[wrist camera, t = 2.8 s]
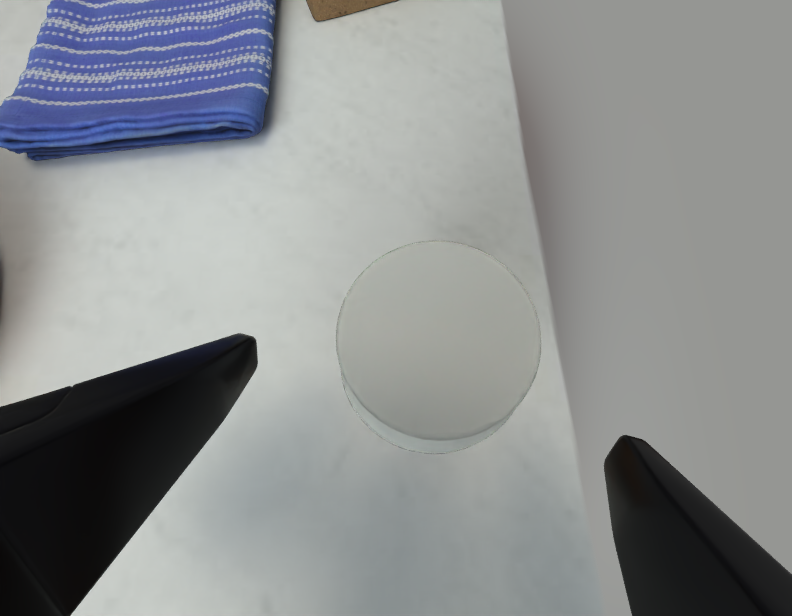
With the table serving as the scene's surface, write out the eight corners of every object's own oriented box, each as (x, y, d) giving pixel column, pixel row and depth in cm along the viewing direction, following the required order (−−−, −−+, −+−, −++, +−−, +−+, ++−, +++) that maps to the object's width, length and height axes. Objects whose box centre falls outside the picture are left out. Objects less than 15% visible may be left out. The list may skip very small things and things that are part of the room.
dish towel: (17, 171, 23) (-36, 139, 20) (93, -54, 30) (62, -100, 27) (272, 148, 22) (252, 111, 19) (287, -76, 29) (274, -126, 27)
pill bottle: (463, 461, 16) (530, 523, 6) (350, 413, 17) (267, 406, 7) (499, 347, 17) (596, 263, 8) (394, 309, 18) (370, 194, 9)
